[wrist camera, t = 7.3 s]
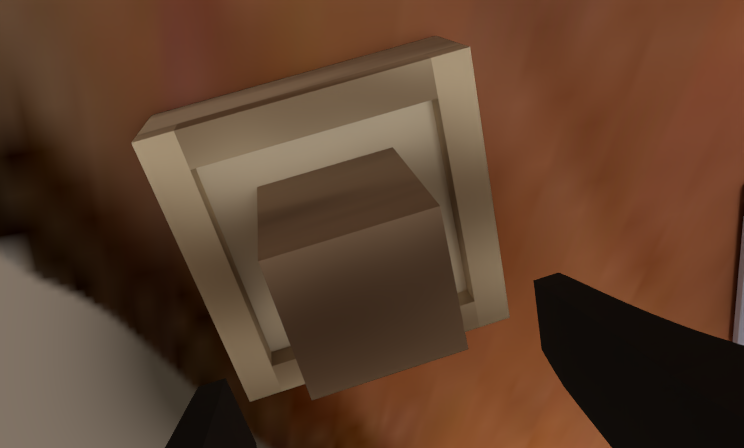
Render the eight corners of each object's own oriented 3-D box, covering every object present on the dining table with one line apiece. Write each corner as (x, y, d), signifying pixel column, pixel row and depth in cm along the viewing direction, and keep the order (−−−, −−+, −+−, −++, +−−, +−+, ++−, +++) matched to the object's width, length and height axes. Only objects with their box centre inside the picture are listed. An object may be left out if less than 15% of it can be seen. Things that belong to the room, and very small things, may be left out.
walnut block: (419, 263, 19) (468, 349, 15) (298, 301, 19) (311, 400, 15) (392, 147, 17) (440, 205, 13) (257, 186, 17) (258, 261, 13)
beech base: (477, 273, 23) (509, 317, 20) (250, 345, 22) (250, 401, 20) (436, 35, 19) (470, 46, 16) (151, 115, 18) (131, 143, 15)
